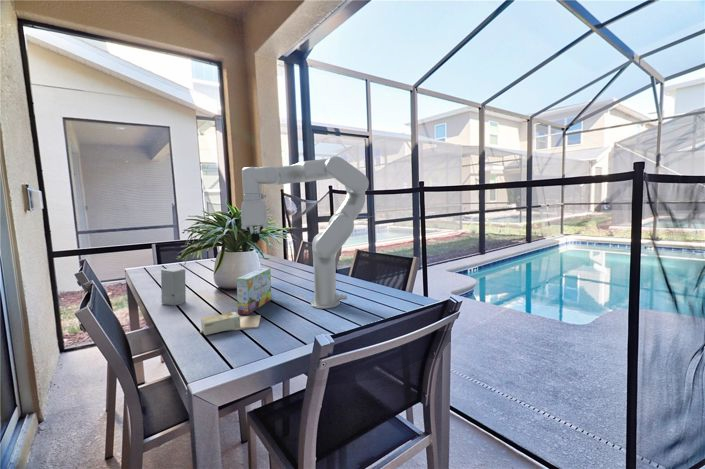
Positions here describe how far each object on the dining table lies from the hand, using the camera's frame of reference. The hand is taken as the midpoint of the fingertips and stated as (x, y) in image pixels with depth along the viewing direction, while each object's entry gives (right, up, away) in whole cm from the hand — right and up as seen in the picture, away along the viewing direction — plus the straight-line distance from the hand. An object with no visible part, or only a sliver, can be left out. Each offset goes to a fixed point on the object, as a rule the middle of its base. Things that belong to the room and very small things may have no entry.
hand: (255, 242), depth 141 cm
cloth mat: (-5, -31, -12) cm, 33 cm away
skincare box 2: (-2, -28, -15) cm, 32 cm away
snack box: (-2, -28, +8) cm, 30 cm away
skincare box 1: (-41, -28, +15) cm, 52 cm away
